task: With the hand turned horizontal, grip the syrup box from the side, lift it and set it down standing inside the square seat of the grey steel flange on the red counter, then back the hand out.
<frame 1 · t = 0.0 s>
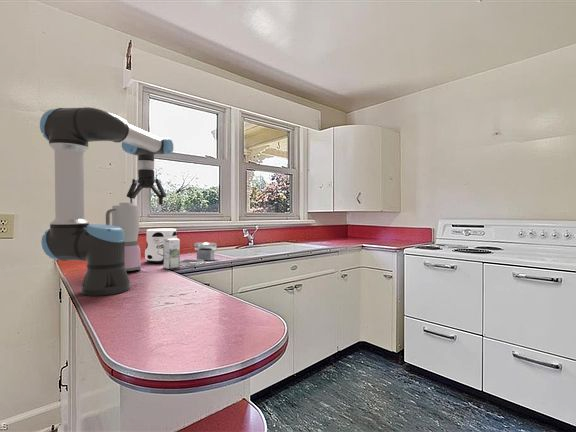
hand: (146, 211, 163), 28 cm above the counter, tool pointing down, fingers open, 13 cm apart
steel flange: (190, 264, 168), on the counter
milk container: (162, 262, 176), on the counter
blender: (123, 272, 147), on the counter
syrup box: (171, 268, 158), on the counter
pillow block with shaft stub: (205, 260, 182), on the counter
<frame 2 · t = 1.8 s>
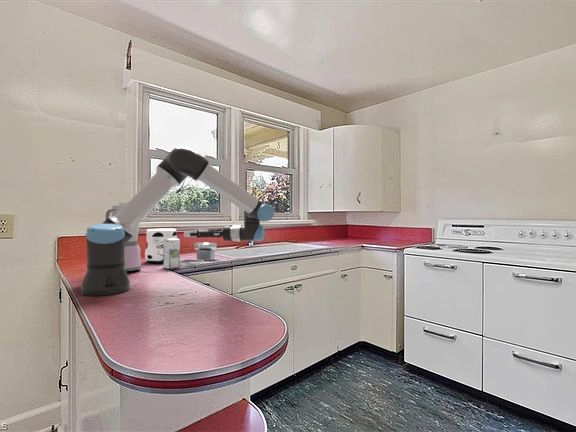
hand: (190, 233, 157), 17 cm above the counter, tool horizontal, fingers open, 13 cm apart
nothing on the counter moved.
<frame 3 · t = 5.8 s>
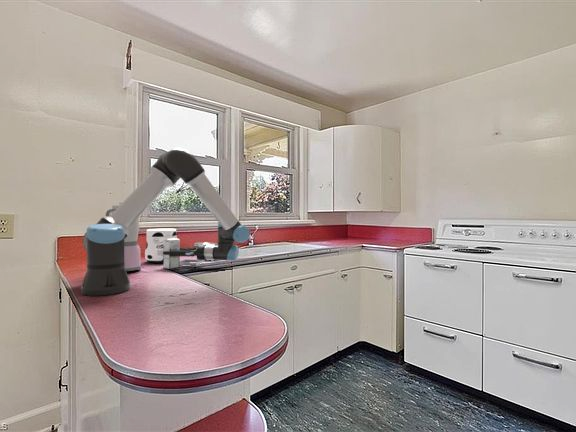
hand: (162, 251, 158), 8 cm above the counter, tool horizontal, fingers closed on syrup box, 7 cm apart
syrup box: (171, 268, 158), on the counter, touching gripper
everything else where it was.
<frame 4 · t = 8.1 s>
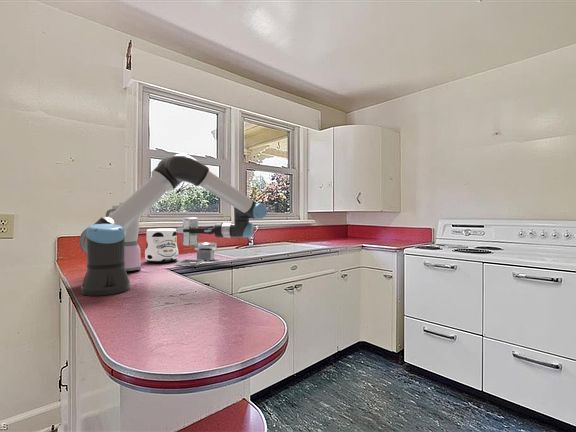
hand: (181, 229, 168), 18 cm above the counter, tool horizontal, fingers closed on syrup box, 7 cm apart
syrup box: (190, 245, 168), point 10 cm above the counter, touching gripper
everything else where it was.
when the fingers open (10 cm above the counter, at t = 10.3 s): syrup box drops 1 cm, resting on steel flange.
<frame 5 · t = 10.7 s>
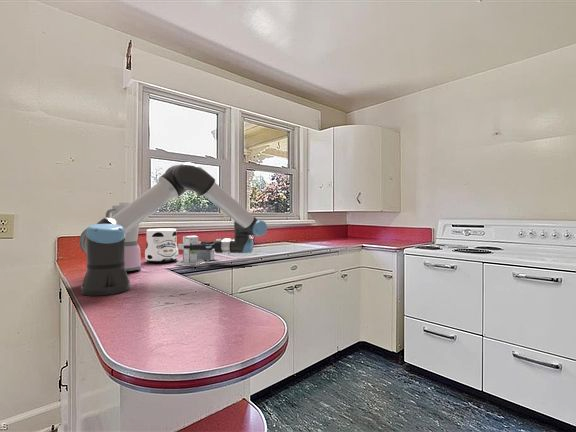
hand: (184, 245, 168), 10 cm above the counter, tool horizontal, fingers open, 12 cm apart
syrup box: (190, 263, 168), resting on steel flange
everything else where it was.
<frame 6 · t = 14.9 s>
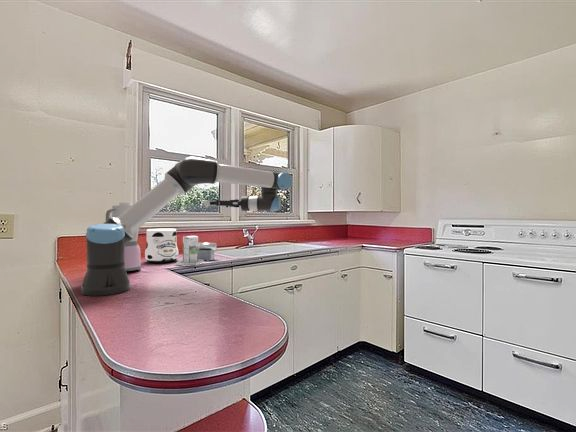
hand: (208, 203, 162), 32 cm above the counter, tool horizontal, fingers open, 13 cm apart
nothing on the counter moved.
at the end: syrup box inside the target area on the steel flange (0.1 cm from its centre), point 0.2 cm above the steel flange's base; syrup box tilted 0°; the gripper is holding nothing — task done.
